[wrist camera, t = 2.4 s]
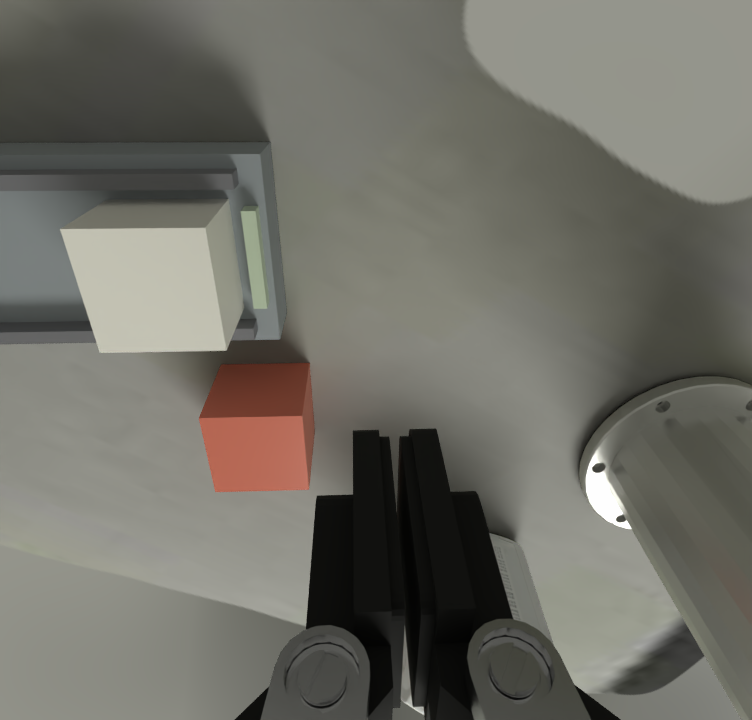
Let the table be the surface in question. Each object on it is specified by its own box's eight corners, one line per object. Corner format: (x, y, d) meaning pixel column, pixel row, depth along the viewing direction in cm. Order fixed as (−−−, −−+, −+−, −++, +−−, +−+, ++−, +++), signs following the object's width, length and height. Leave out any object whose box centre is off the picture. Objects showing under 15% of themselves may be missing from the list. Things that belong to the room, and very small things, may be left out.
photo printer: (377, 542, 38) (386, 736, 27) (401, 503, 36) (421, 696, 25) (499, 572, 40) (551, 761, 29) (528, 537, 38) (595, 726, 27)
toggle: (228, 198, 21) (205, 227, 18) (244, 307, 24) (226, 350, 21) (106, 199, 21) (59, 229, 18) (135, 308, 24) (99, 352, 20)
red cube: (309, 362, 29) (302, 415, 25) (314, 430, 32) (308, 489, 28) (221, 363, 29) (199, 418, 25) (233, 432, 32) (215, 491, 28)
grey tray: (270, 142, 23) (256, 158, 20) (286, 312, 28) (277, 349, 24) (-74, 143, 23) (-149, 160, 19) (0, 316, 27) (-51, 355, 24)
